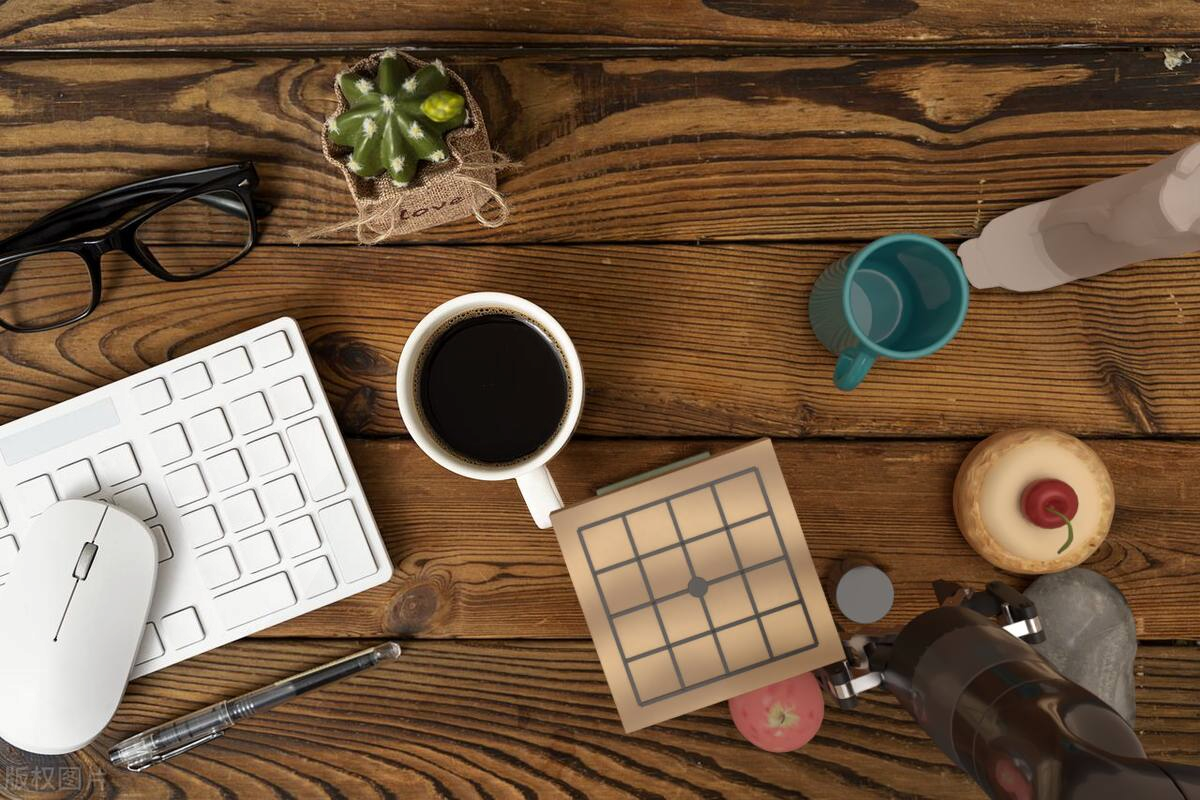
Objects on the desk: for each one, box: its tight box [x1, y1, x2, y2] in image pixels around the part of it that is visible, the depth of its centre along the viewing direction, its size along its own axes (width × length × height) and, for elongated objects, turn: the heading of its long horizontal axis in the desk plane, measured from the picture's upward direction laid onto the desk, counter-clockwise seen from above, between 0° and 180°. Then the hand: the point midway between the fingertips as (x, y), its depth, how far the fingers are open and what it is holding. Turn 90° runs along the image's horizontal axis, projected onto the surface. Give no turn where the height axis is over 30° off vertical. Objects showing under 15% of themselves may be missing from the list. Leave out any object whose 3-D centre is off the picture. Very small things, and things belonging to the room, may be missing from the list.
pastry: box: [952, 427, 1116, 575], centre depth 68 cm, size 12×12×9 cm
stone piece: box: [826, 557, 895, 625], centre depth 71 cm, size 5×5×3 cm
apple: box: [727, 670, 825, 754], centre depth 69 cm, size 7×7×8 cm
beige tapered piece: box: [957, 140, 1200, 293], centre depth 62 cm, size 7×14×20 cm, turn 106°
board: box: [548, 436, 846, 735], centre depth 62 cm, size 14×14×22 cm
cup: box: [807, 232, 970, 393], centre depth 66 cm, size 9×12×11 cm
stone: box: [1021, 566, 1138, 731], centre depth 71 cm, size 11×4×15 cm
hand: (885, 611), depth 64 cm, fingers open, 8 cm apart
